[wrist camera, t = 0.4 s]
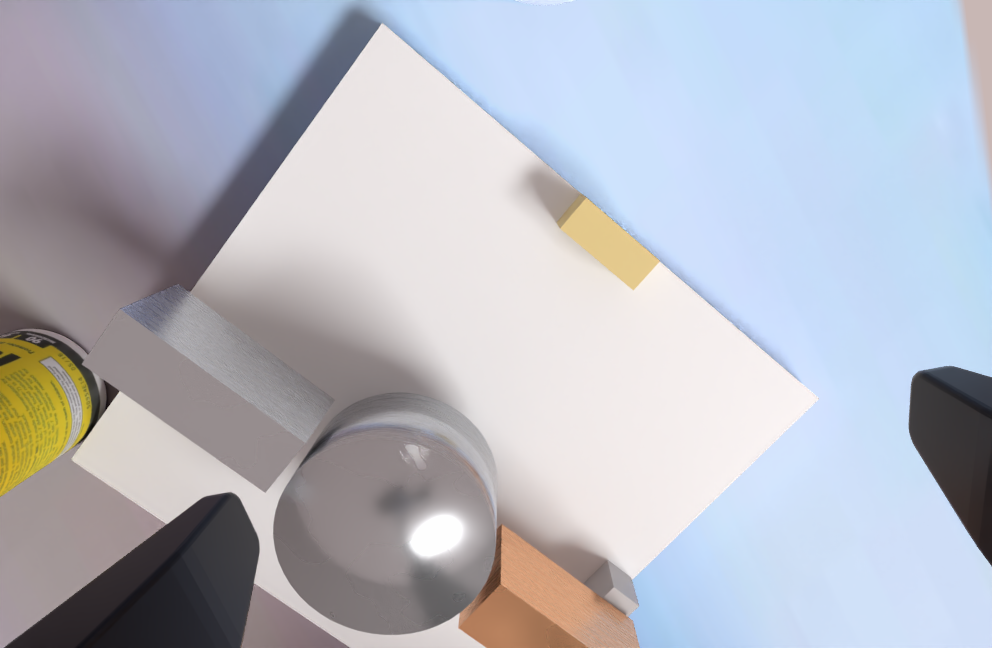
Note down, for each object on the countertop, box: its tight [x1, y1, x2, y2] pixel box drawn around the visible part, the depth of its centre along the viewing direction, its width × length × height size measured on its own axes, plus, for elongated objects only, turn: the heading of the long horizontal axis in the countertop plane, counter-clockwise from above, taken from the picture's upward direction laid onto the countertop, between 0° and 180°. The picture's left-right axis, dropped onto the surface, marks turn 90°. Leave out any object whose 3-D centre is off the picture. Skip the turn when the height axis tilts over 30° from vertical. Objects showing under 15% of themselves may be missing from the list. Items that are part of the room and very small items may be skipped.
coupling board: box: [71, 23, 819, 648], centre depth 23 cm, size 19×19×3 cm
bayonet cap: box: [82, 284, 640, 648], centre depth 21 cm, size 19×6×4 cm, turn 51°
